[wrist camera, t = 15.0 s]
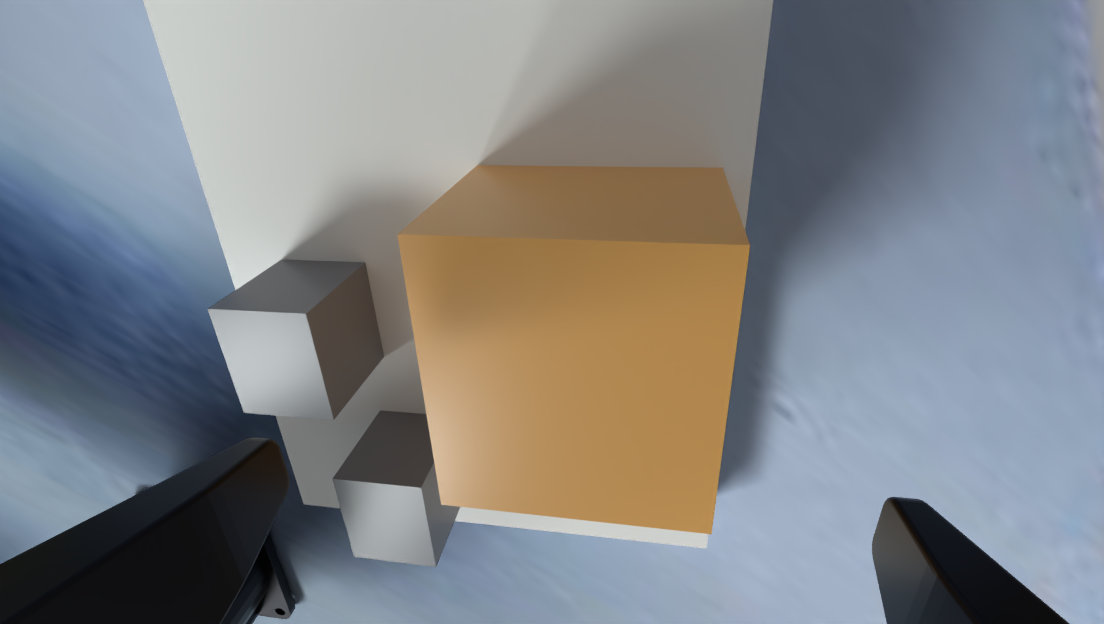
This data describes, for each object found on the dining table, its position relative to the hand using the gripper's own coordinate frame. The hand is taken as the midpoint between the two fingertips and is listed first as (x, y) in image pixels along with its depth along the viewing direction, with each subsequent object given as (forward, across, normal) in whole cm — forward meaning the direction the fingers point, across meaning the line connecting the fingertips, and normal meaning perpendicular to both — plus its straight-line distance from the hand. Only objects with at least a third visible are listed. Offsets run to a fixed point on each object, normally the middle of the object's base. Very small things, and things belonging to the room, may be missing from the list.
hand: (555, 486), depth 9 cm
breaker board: (+9, +4, +1) cm, 10 cm away
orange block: (+7, 0, 0) cm, 7 cm away
